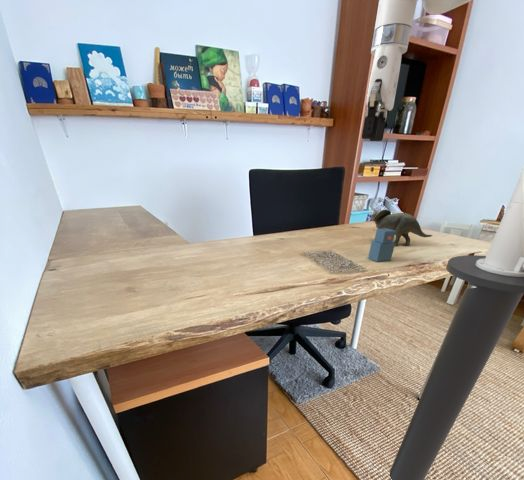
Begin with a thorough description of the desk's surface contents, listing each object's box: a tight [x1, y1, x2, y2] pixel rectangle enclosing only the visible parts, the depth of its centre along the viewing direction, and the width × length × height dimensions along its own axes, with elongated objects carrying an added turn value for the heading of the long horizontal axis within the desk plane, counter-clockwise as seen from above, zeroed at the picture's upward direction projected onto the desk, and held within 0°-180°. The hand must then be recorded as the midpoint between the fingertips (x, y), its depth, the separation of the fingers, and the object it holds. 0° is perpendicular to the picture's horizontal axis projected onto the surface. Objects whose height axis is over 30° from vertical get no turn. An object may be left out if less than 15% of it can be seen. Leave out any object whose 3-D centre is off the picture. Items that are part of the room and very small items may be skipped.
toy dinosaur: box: [370, 204, 433, 247], centre depth 99 cm, size 22×8×11 cm, turn 51°
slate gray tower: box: [367, 228, 396, 263], centre depth 84 cm, size 4×5×8 cm
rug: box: [302, 249, 368, 273], centre depth 83 cm, size 10×20×1 cm, turn 18°
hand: (372, 139), depth 73 cm, fingers open, 9 cm apart
